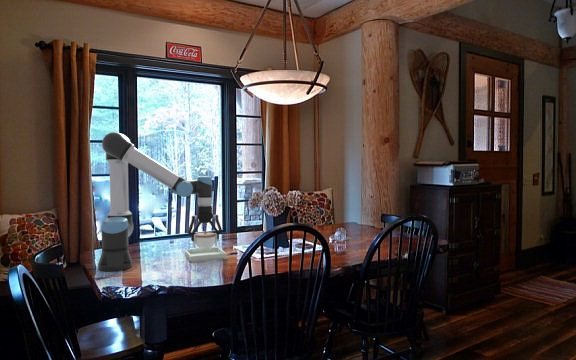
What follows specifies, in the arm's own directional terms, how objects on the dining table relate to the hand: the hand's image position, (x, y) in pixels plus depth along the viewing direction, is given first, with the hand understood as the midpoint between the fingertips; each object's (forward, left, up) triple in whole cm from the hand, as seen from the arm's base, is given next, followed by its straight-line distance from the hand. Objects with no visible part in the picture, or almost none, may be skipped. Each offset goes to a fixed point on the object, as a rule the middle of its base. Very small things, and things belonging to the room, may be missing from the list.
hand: (205, 246), depth 218 cm
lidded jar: (0, 0, -1) cm, 1 cm away
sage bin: (0, 0, -6) cm, 6 cm away
